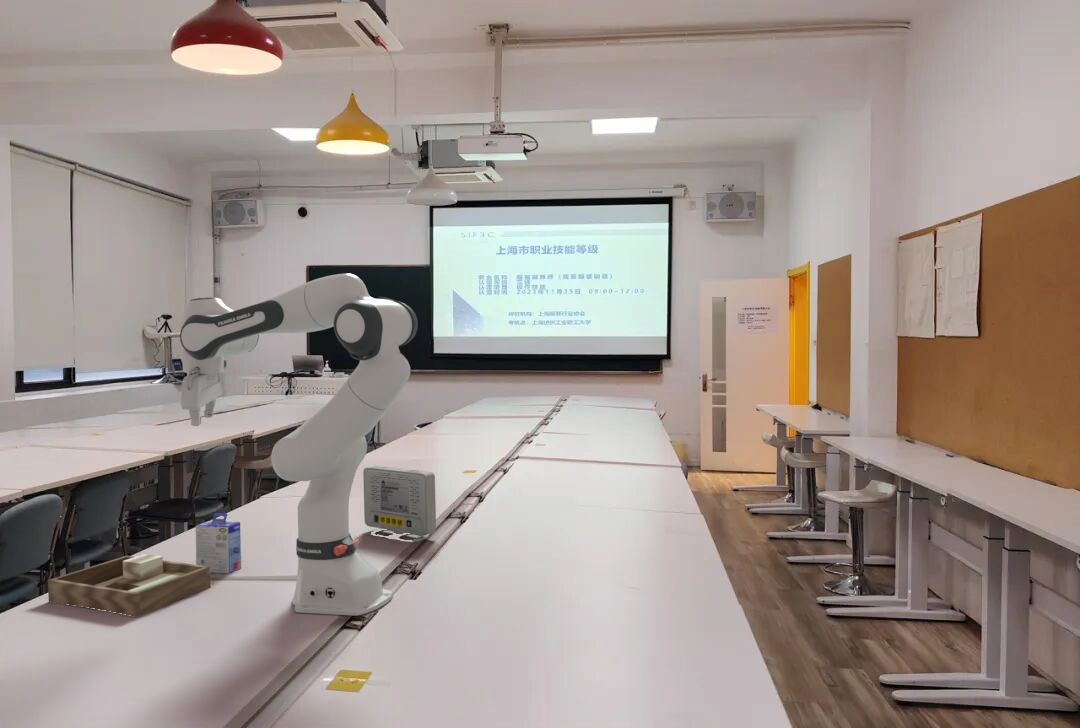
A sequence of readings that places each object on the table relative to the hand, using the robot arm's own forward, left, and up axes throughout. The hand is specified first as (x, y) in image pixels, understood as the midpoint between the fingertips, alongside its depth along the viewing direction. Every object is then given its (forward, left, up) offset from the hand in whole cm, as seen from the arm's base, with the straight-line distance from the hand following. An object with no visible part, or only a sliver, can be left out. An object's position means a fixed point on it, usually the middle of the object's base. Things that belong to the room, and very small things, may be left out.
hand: (202, 421), depth 176 cm
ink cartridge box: (+6, -9, -40) cm, 42 cm away
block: (+13, +7, -37) cm, 40 cm away
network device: (-21, -53, -40) cm, 69 cm away
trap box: (+11, +12, -40) cm, 43 cm away
